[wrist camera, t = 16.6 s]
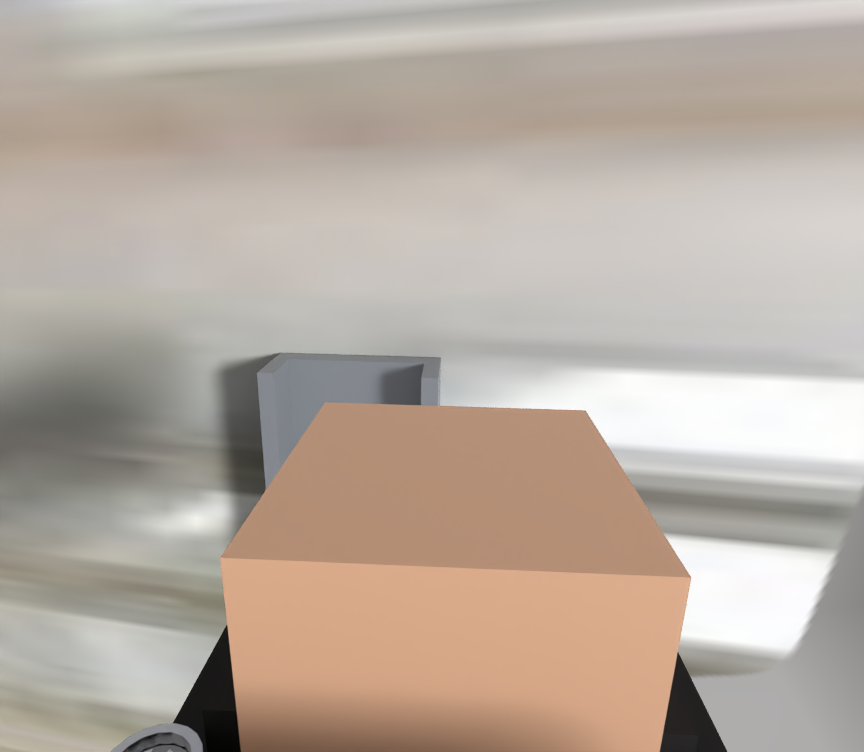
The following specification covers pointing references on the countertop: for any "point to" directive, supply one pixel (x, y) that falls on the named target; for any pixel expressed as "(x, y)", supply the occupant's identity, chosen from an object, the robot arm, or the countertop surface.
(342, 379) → the grey railed tray
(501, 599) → the block
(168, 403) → the countertop surface
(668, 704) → the robot arm
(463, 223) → the countertop surface
